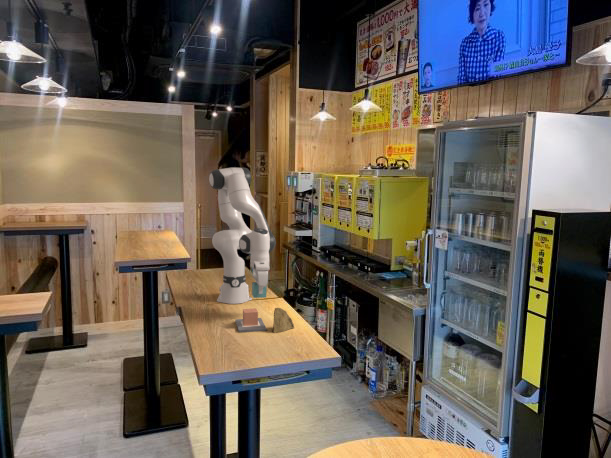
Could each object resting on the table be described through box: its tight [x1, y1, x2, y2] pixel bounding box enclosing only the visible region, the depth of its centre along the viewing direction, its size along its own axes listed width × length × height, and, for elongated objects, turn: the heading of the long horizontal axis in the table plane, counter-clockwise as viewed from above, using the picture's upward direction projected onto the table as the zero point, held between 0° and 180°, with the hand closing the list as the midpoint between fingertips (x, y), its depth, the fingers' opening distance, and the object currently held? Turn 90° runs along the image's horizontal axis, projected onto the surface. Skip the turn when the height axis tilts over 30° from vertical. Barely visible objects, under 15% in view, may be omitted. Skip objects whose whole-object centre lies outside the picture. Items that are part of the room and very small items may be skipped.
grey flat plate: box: [235, 317, 267, 334], centre depth 207 cm, size 16×12×1 cm
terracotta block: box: [242, 307, 259, 326], centre depth 207 cm, size 6×6×6 cm
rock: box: [272, 307, 295, 334], centre depth 202 cm, size 11×9×10 cm
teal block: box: [251, 281, 268, 299], centre depth 219 cm, size 6×6×6 cm
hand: (259, 291), depth 219 cm, fingers closed on teal block, 6 cm apart
